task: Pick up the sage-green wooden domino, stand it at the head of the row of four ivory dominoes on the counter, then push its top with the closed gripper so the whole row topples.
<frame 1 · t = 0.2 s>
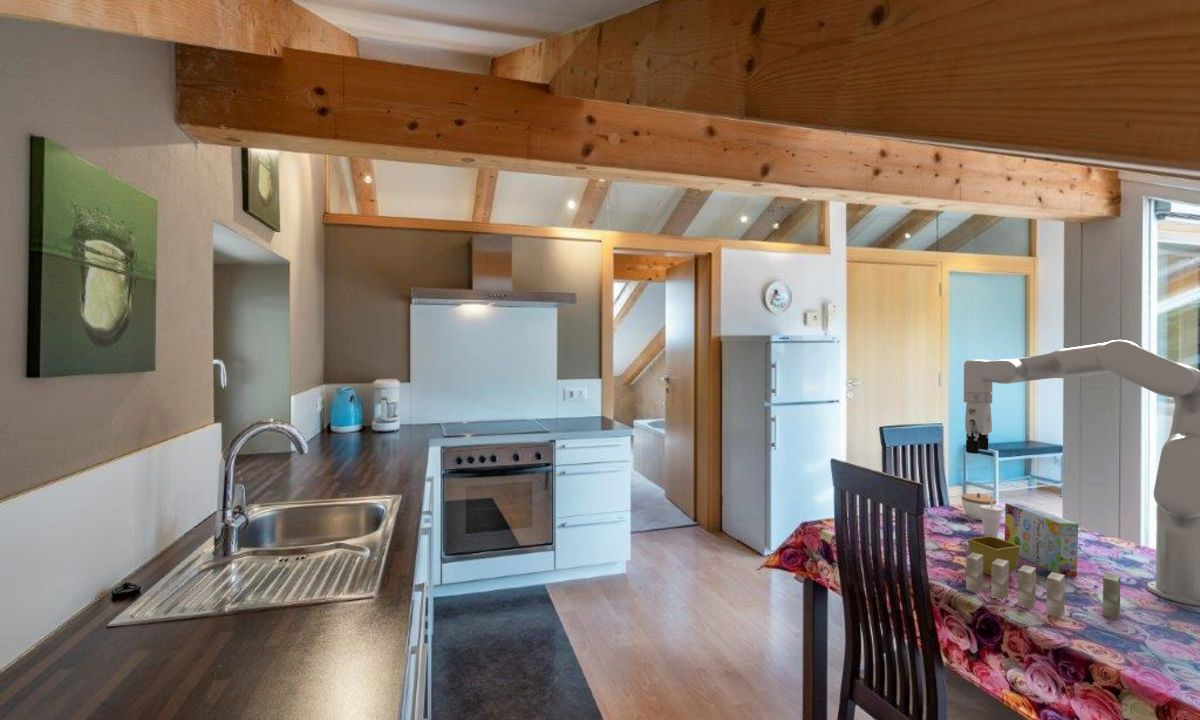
hand: (977, 451, 170), 31 cm above the table, tool pointing down, fingers open, 9 cm apart
flower pot: (993, 574, 150), on the table
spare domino: (1111, 614, 126), on the table
domino 5: (974, 589, 139), on the table
domino 2: (1055, 613, 127), on the table
smoothie: (990, 536, 181), on the table
domino 4: (999, 597, 135), on the table
domino 3: (1026, 605, 131), on the table
lidded jar: (978, 518, 200), on the table
snack box: (1038, 562, 158), on the table
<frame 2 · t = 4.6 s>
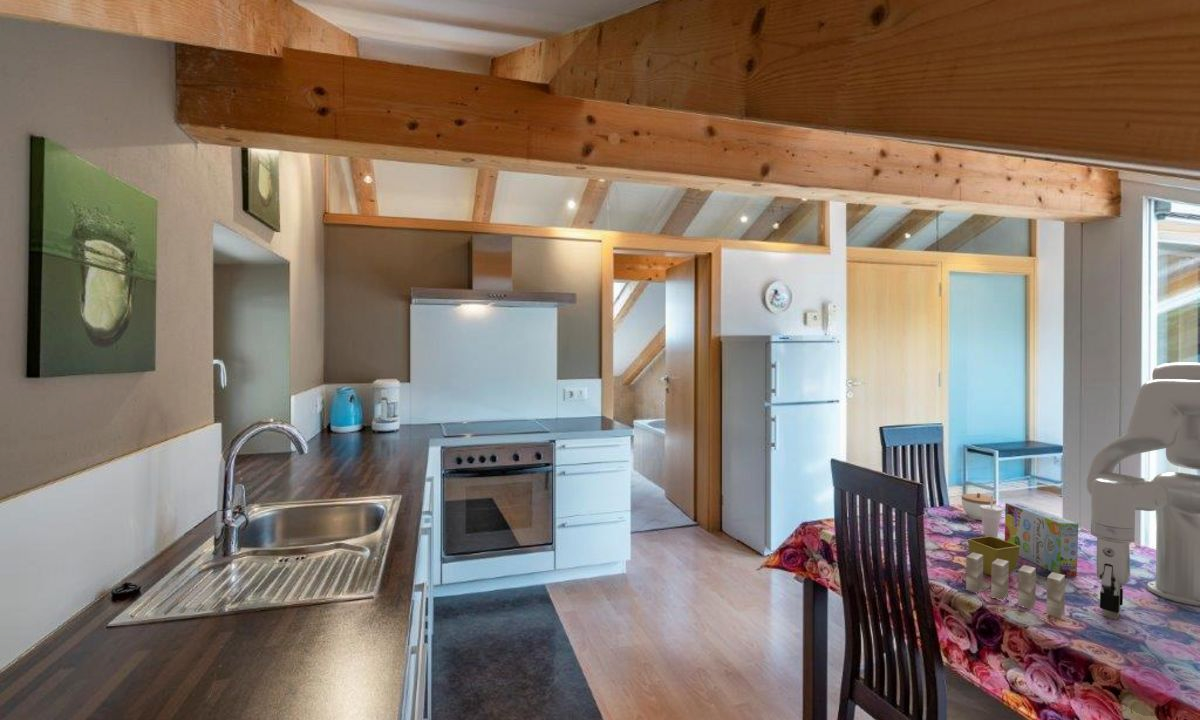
hand: (1111, 606, 126), 2 cm above the table, tool pointing down, fingers closed on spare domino, 4 cm apart
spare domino: (1111, 614, 126), on the table, touching gripper
everything else where it was.
when the fingers open (3 cm above the table, at t = 10.6 s): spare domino stays where it is, on the table.
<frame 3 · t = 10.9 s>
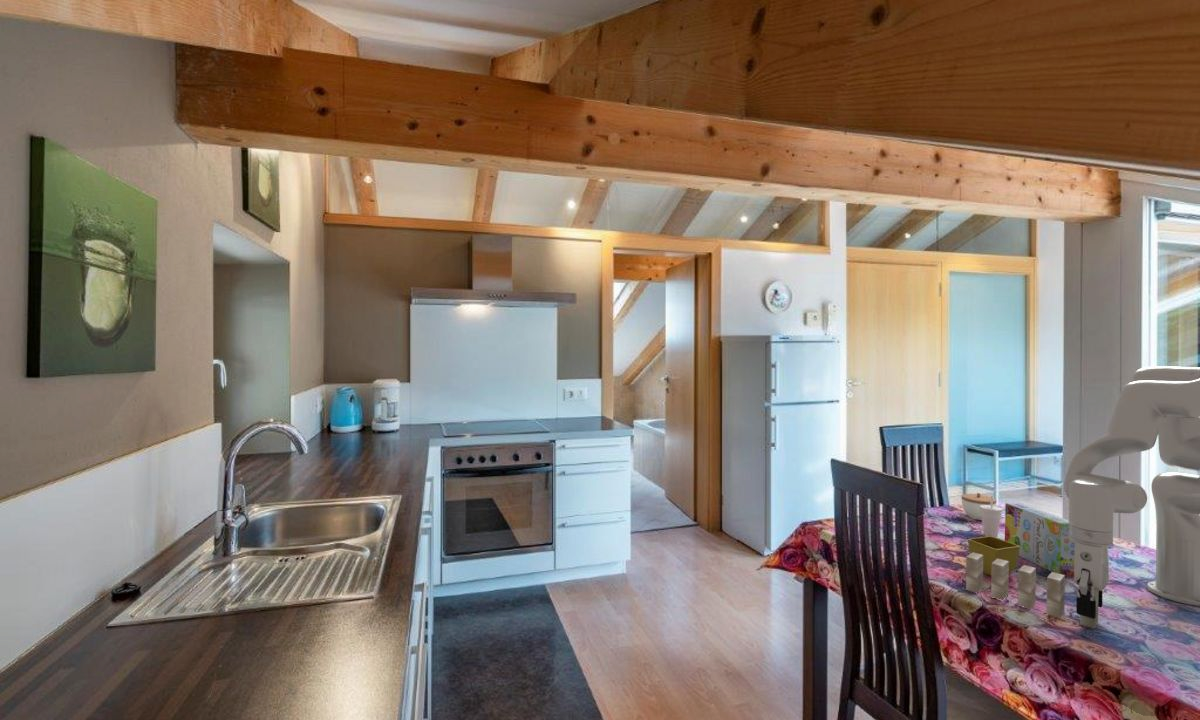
hand: (1089, 610, 122), 3 cm above the table, tool pointing down, fingers open, 7 cm apart
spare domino: (1089, 623, 122), on the table
everything else where it was.
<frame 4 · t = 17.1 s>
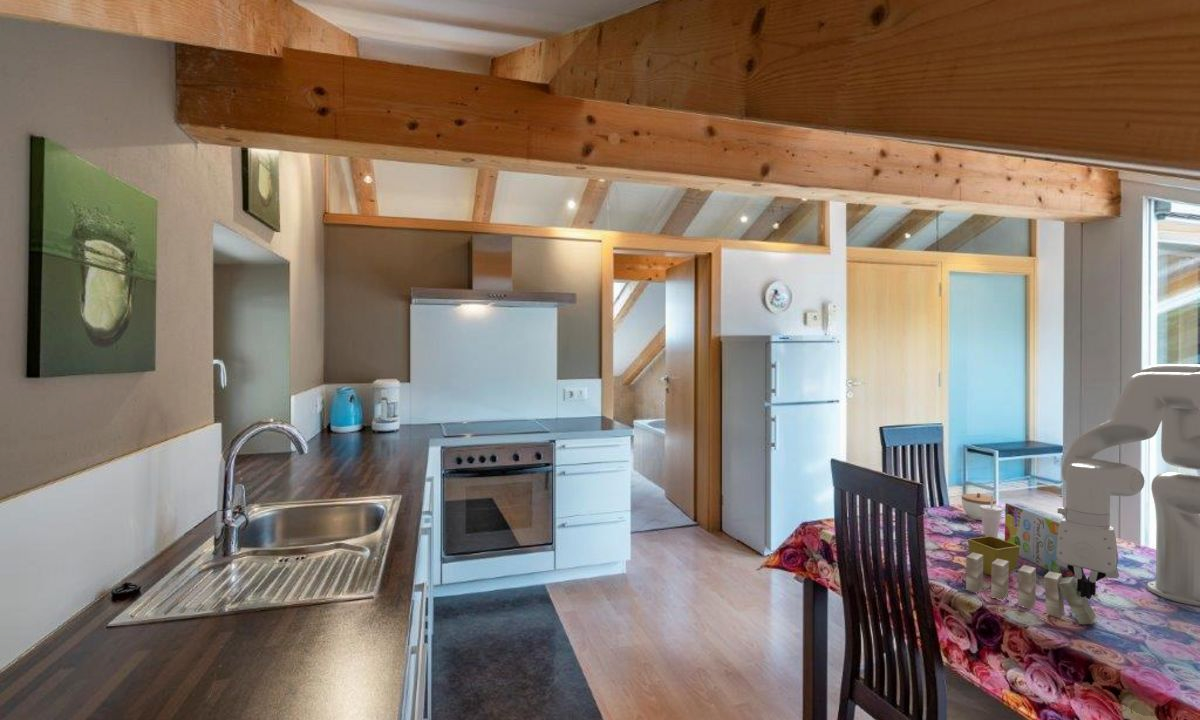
hand: (1086, 596, 122), 6 cm above the table, tool pointing down, fingers closed
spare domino: (1088, 620, 122), point 1 cm above the table, tilted 27°, touching gripper
everything else where it was.
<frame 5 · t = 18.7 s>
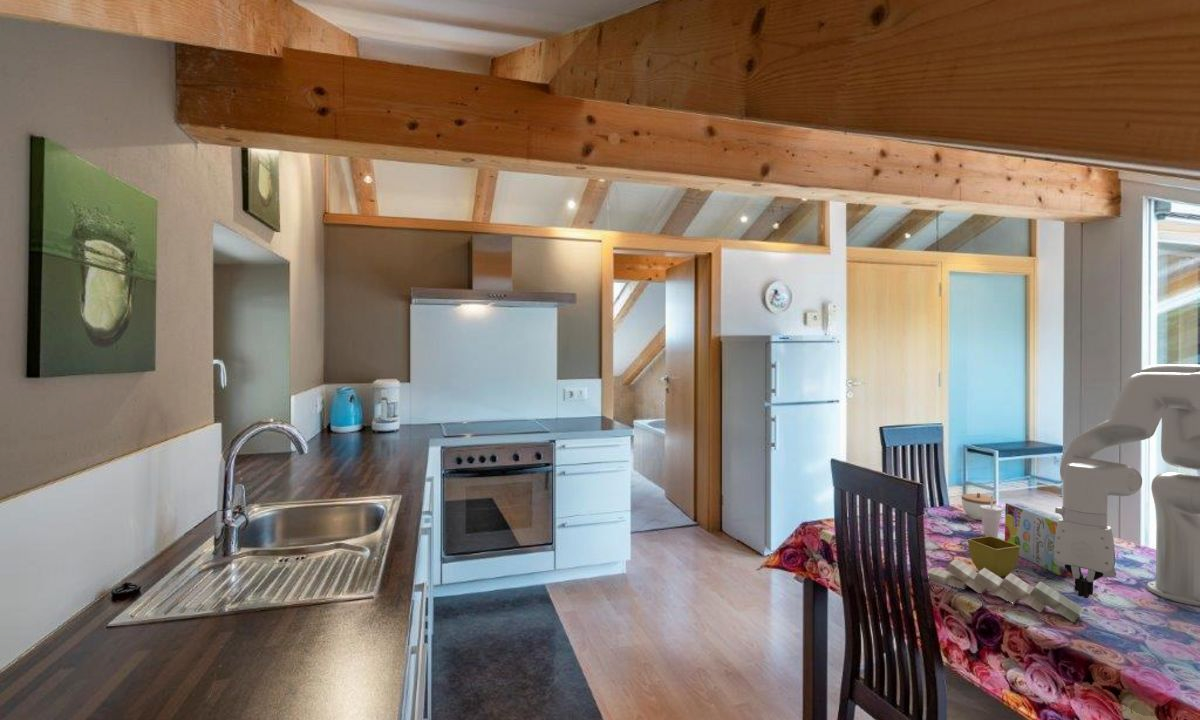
hand: (1083, 595, 123), 6 cm above the table, tool pointing down, fingers closed
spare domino: (1079, 615, 123), point 1 cm above the table, tilted 65°, touching domino 2
domino 5: (967, 585, 141), point 1 cm above the table, tilted 90°, touching domino 4
domino 2: (1045, 606, 128), point 1 cm above the table, tilted 64°, touching domino 3, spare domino
domino 4: (986, 588, 137), point 1 cm above the table, tilted 65°, touching domino 3, domino 5
domino 3: (1018, 598, 132), point 1 cm above the table, tilted 67°, touching domino 2, domino 4
everything else where it was.
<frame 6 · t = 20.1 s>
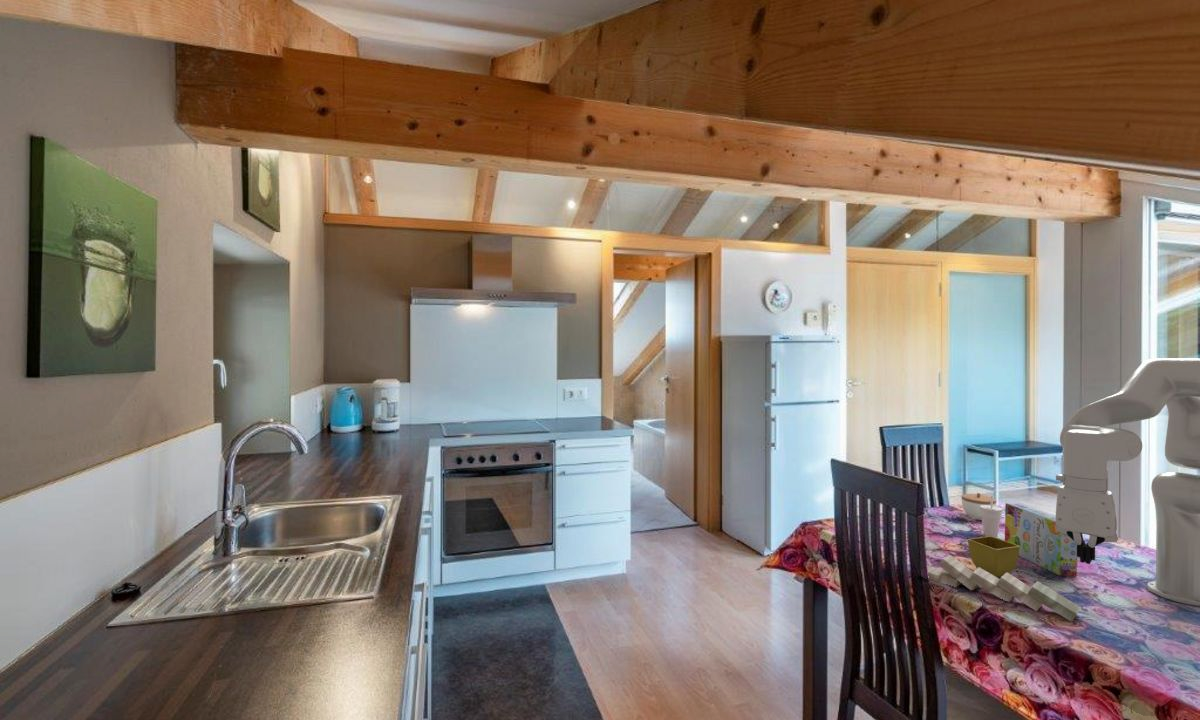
hand: (1086, 561, 123), 14 cm above the table, tool pointing down, fingers closed
domino 5: (959, 582, 142), point 1 cm above the table, tilted 90°, touching domino 4
domino 4: (977, 585, 139), point 1 cm above the table, tilted 63°, touching domino 3, domino 5
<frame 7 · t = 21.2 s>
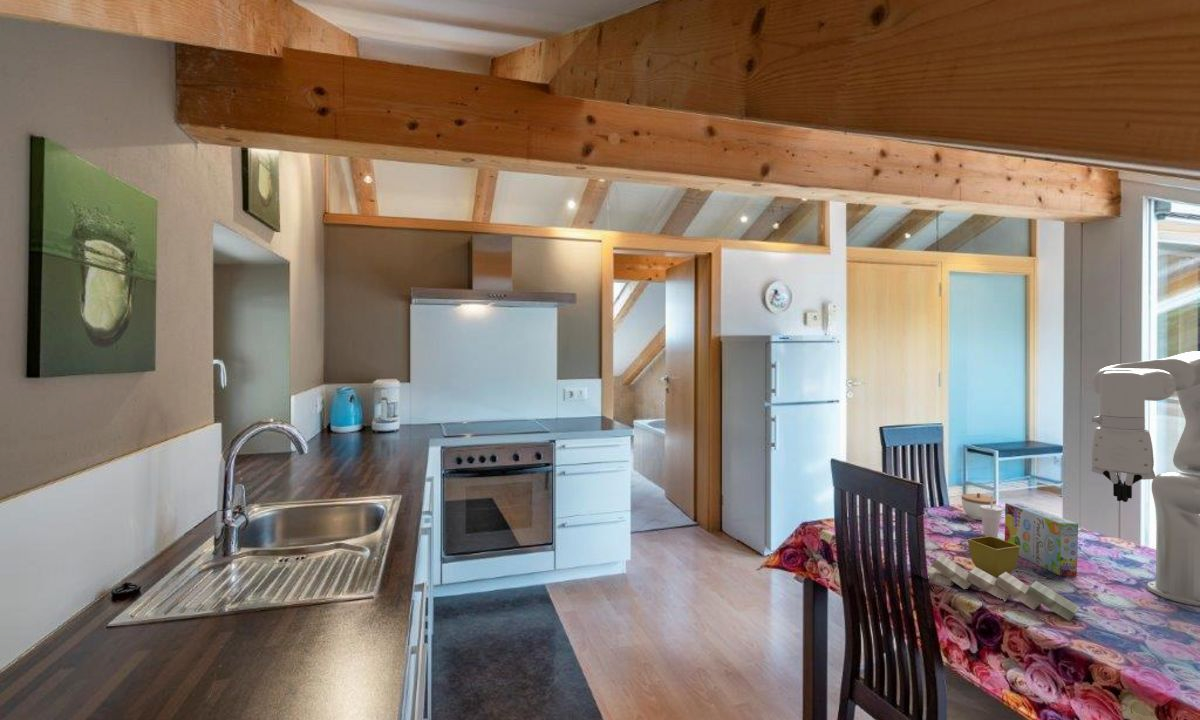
hand: (1122, 500, 125), 28 cm above the table, tool pointing down, fingers closed
domino 5: (954, 581, 143), point 1 cm above the table, tilted 90°, touching domino 4
domino 2: (1040, 603, 129), point 1 cm above the table, tilted 66°, touching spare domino
domino 4: (970, 583, 140), point 1 cm above the table, tilted 61°, touching domino 3, domino 5
domino 3: (1010, 595, 134), point 1 cm above the table, tilted 72°, touching domino 4
everything else where it was.
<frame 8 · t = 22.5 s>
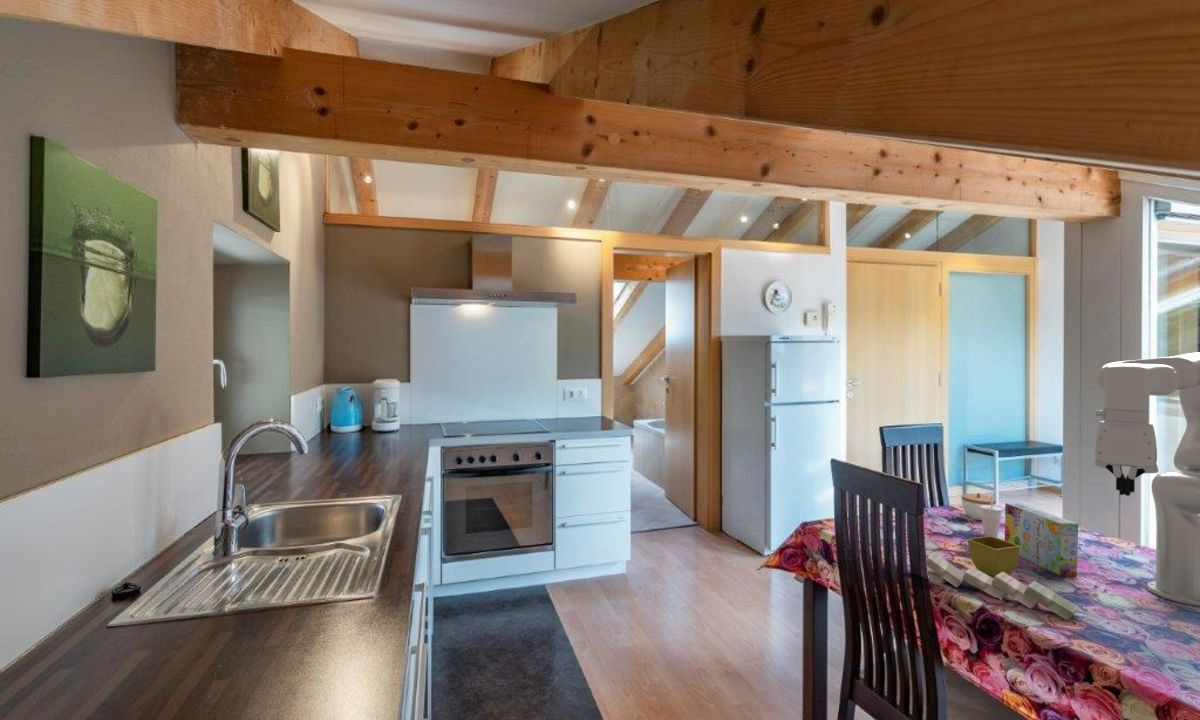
hand: (1125, 494, 125), 29 cm above the table, tool pointing down, fingers closed
domino 5: (946, 579, 144), point 1 cm above the table, tilted 90°, touching domino 4
domino 2: (1037, 602, 130), point 1 cm above the table, tilted 68°, touching domino 3, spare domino
domino 4: (962, 581, 142), point 1 cm above the table, tilted 62°, touching domino 3, domino 5
domino 3: (1006, 593, 135), point 1 cm above the table, tilted 75°, touching domino 2, domino 4
at the end: domino 5 tilted 90°; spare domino tilted 69°; the gripper is holding nothing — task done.
